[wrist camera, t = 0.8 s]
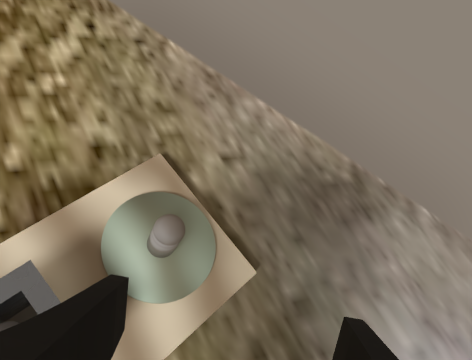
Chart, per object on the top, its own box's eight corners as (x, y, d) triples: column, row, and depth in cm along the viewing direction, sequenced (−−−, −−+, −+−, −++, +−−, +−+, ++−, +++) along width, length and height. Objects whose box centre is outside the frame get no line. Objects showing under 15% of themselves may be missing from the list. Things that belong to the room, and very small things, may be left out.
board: (1, 508, 19) (-28, 554, 14) (-119, 318, 21) (-180, 303, 16) (252, 275, 29) (283, 257, 24) (158, 159, 30) (170, 121, 26)
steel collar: (-4, 429, 19) (-27, 445, 16) (-60, 342, 20) (-95, 336, 16) (92, 351, 22) (93, 348, 19) (40, 277, 23) (30, 259, 19)
